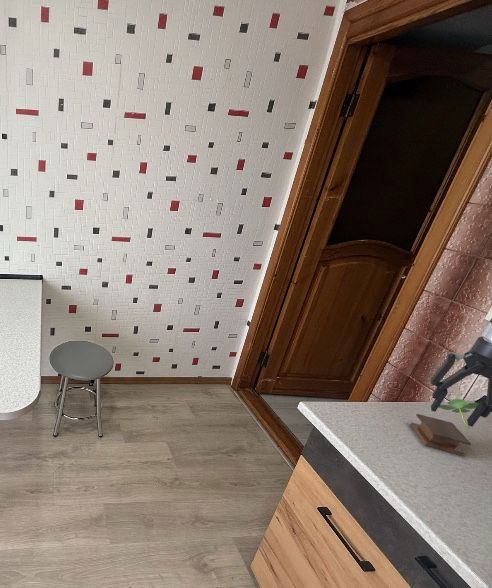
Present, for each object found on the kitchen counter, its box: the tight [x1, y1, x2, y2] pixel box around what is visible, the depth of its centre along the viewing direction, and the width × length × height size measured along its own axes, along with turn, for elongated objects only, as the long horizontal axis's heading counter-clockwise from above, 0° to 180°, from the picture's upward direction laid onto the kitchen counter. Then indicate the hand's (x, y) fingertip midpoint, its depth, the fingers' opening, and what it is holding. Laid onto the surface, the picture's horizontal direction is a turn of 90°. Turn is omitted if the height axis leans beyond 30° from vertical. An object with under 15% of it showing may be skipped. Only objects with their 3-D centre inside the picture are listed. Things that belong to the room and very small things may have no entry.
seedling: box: [437, 398, 480, 430], centre depth 87 cm, size 7×8×6 cm
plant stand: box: [409, 413, 472, 457], centre depth 91 cm, size 8×8×4 cm
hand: (450, 415), depth 89 cm, fingers closed on seedling, 6 cm apart
